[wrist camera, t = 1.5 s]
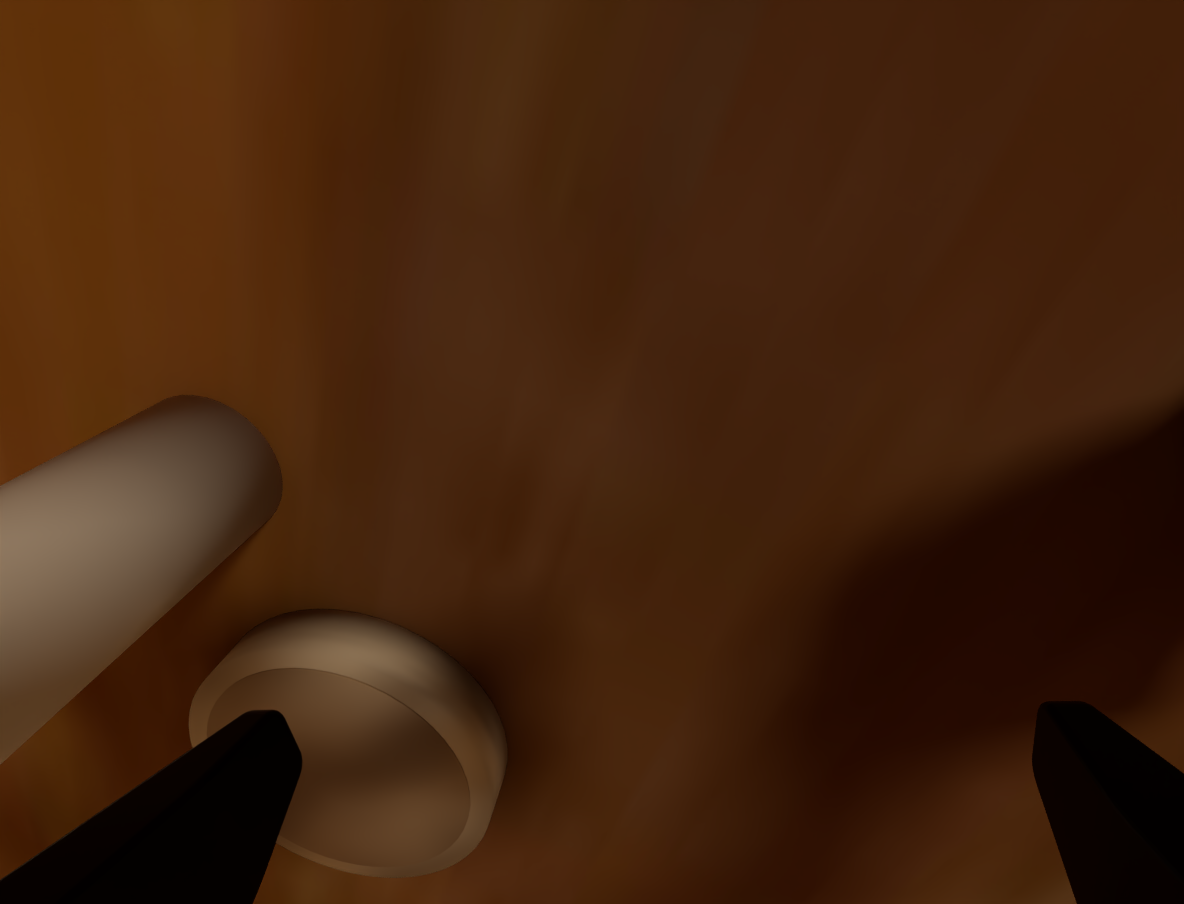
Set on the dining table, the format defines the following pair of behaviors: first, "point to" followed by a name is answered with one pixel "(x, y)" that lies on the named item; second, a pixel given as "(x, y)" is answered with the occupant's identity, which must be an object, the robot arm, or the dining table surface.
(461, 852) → the base disc
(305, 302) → the dining table surface
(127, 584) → the candle
